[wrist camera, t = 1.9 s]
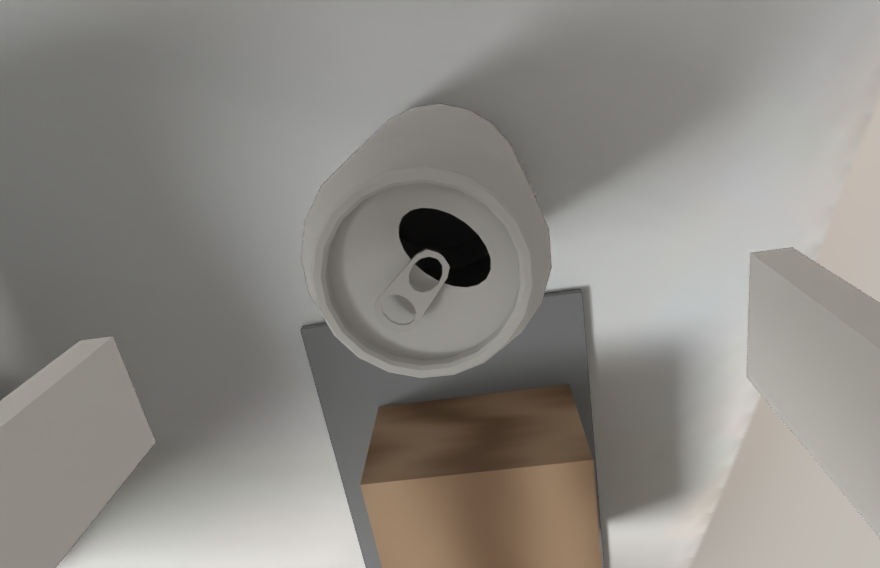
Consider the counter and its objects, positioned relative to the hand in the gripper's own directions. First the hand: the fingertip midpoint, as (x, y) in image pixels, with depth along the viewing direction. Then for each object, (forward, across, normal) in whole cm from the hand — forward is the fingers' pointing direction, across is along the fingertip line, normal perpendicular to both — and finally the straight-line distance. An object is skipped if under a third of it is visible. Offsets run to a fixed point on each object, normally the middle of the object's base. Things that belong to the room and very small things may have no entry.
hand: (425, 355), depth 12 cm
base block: (+16, 0, -16) cm, 22 cm away
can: (+16, 0, 0) cm, 16 cm away
